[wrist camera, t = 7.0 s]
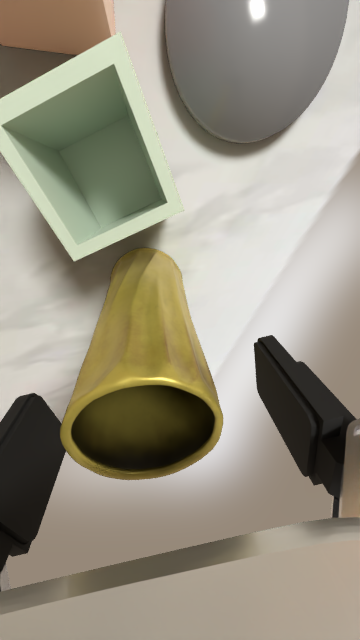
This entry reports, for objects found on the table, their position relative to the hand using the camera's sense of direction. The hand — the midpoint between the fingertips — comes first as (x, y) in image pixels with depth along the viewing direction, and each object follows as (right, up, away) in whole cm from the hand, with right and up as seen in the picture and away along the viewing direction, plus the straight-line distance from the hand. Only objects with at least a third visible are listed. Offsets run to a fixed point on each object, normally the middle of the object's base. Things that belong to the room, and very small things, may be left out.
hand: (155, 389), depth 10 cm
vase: (-2, +6, +10) cm, 12 cm away
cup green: (-3, +13, +6) cm, 15 cm away
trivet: (+5, +19, +3) cm, 20 cm away
